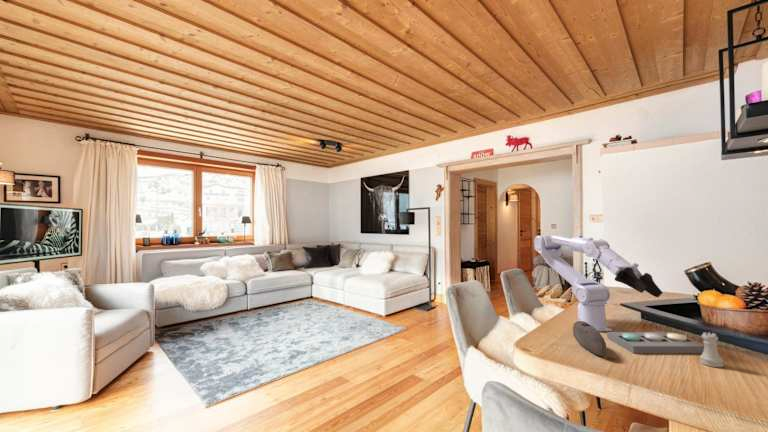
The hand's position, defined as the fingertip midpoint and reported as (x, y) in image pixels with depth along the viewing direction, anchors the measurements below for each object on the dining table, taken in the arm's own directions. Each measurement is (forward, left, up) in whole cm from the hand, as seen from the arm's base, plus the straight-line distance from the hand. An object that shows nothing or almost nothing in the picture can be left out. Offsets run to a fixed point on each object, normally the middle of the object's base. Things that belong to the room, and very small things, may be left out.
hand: (651, 292), depth 96 cm
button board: (-4, +2, -17) cm, 17 cm away
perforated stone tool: (0, -18, -17) cm, 25 cm away
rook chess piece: (+10, +7, -17) cm, 21 cm away
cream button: (-4, +9, -15) cm, 18 cm away
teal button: (-4, -4, -15) cm, 16 cm away
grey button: (-4, +2, -15) cm, 16 cm away
